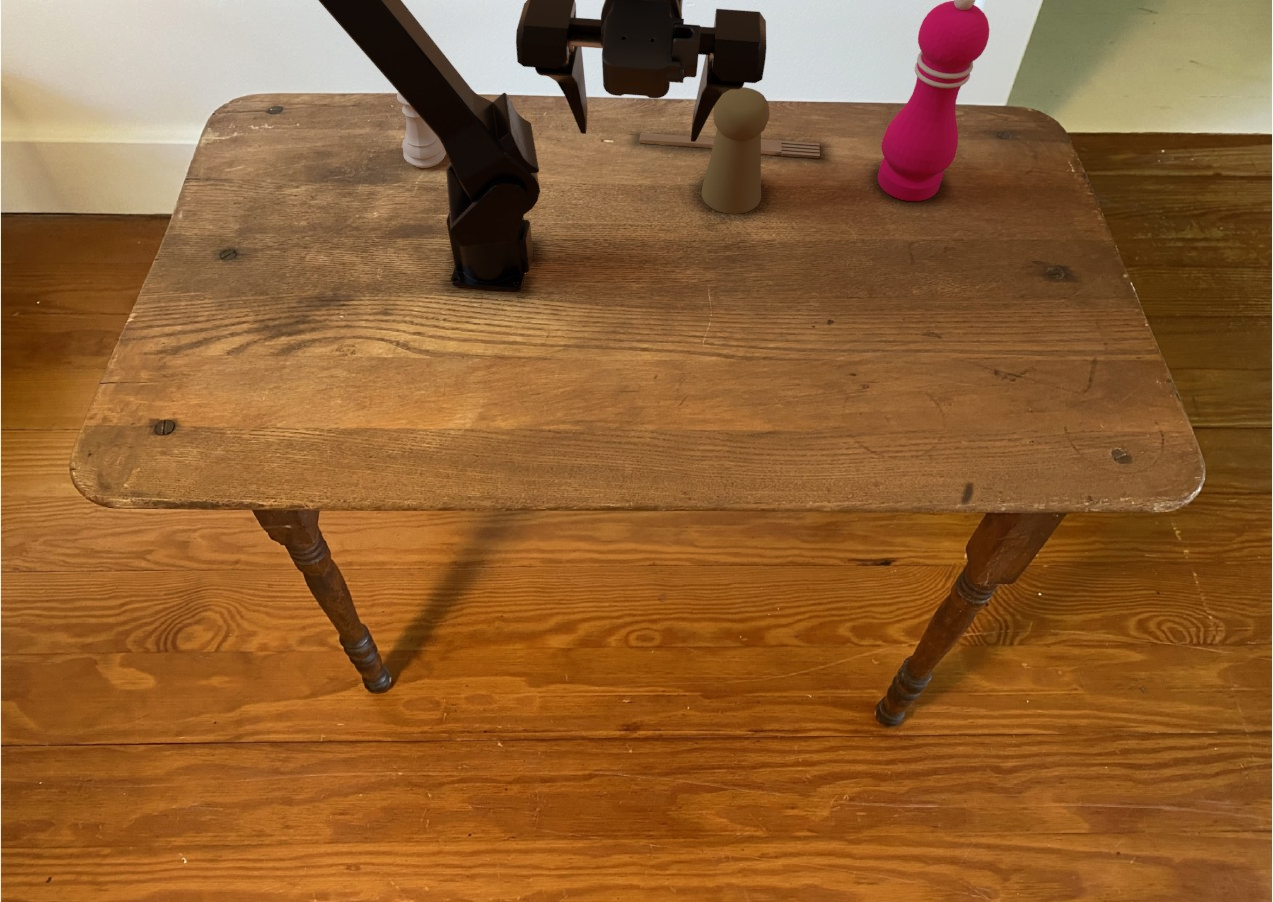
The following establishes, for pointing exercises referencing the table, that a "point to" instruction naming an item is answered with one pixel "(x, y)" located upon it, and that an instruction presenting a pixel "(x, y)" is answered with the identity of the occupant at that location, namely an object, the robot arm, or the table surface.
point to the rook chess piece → (420, 140)
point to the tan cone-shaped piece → (736, 152)
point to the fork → (766, 145)
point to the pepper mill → (932, 102)
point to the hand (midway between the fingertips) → (638, 135)
